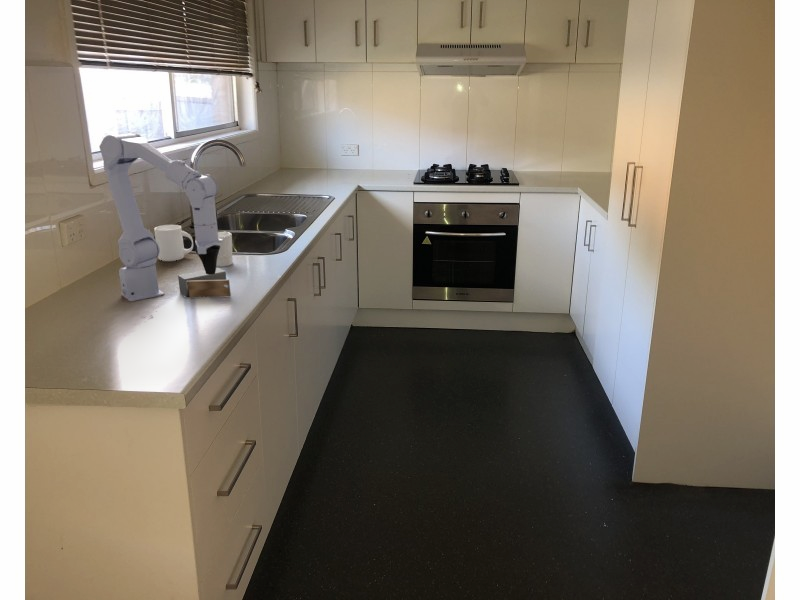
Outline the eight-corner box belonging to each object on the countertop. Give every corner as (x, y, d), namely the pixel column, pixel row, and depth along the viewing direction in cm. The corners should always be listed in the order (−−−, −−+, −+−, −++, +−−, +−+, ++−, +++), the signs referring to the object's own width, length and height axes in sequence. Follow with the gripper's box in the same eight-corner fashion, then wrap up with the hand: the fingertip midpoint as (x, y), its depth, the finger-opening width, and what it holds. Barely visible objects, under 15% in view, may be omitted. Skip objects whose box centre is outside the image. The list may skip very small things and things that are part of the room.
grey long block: (186, 297, 177) (184, 279, 175) (180, 293, 181) (177, 275, 179) (227, 289, 184) (225, 271, 183) (220, 285, 188) (218, 267, 186)
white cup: (239, 263, 211) (236, 233, 207) (221, 268, 204) (218, 238, 201) (222, 259, 215) (219, 230, 211) (204, 265, 208) (201, 235, 205)
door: (185, 298, 176) (183, 282, 174) (187, 296, 177) (185, 280, 176) (229, 297, 176) (227, 281, 175) (230, 295, 178) (229, 279, 176)
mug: (192, 261, 213) (188, 229, 210) (155, 262, 212) (151, 230, 209) (197, 254, 221) (193, 224, 218) (161, 255, 220) (157, 225, 217)
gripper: (215, 229, 158) (220, 281, 163) (226, 217, 172) (231, 265, 176) (186, 229, 158) (192, 282, 162) (199, 217, 172) (205, 266, 176)
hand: (210, 273), depth 169 cm, fingers closed
